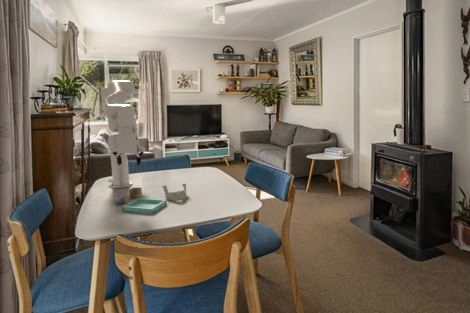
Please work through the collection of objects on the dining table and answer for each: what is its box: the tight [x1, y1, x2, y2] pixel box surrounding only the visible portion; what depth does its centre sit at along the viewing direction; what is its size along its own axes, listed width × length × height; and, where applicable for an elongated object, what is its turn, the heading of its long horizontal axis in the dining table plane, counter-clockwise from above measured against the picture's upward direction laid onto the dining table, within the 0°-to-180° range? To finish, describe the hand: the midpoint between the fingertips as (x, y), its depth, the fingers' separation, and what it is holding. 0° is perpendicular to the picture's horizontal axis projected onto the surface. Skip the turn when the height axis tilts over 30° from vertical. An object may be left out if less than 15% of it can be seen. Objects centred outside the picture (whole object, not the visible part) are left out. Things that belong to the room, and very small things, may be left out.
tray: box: [121, 197, 168, 215], centre depth 159 cm, size 16×14×2 cm
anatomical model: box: [162, 183, 188, 202], centre depth 173 cm, size 13×11×10 cm
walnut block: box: [128, 187, 143, 200], centre depth 175 cm, size 5×5×5 cm
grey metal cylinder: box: [114, 191, 126, 206], centre depth 165 cm, size 5×5×6 cm
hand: (129, 164), depth 163 cm, fingers open, 9 cm apart
